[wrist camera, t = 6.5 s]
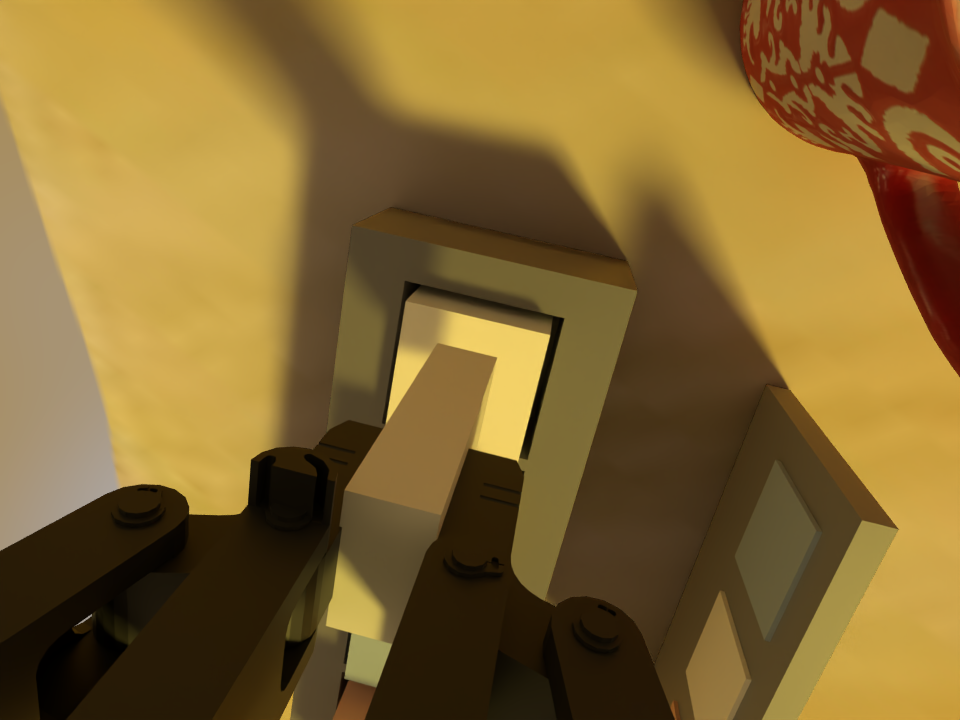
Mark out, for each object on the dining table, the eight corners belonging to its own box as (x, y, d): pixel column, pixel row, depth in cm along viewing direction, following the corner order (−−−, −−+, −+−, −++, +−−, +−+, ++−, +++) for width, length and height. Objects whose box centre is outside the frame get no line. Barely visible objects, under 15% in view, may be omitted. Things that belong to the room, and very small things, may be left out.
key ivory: (432, 272, 21) (405, 301, 18) (555, 301, 21) (550, 335, 17) (413, 384, 22) (384, 429, 19) (526, 412, 22) (517, 463, 19)
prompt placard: (762, 383, 22) (855, 518, 14) (790, 390, 22) (898, 529, 14) (629, 718, 28) (647, 937, 20) (651, 724, 28) (677, 946, 20)
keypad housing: (391, 207, 22) (352, 225, 18) (627, 261, 21) (637, 291, 17) (321, 685, 30) (284, 766, 26) (491, 733, 29) (478, 822, 25)
